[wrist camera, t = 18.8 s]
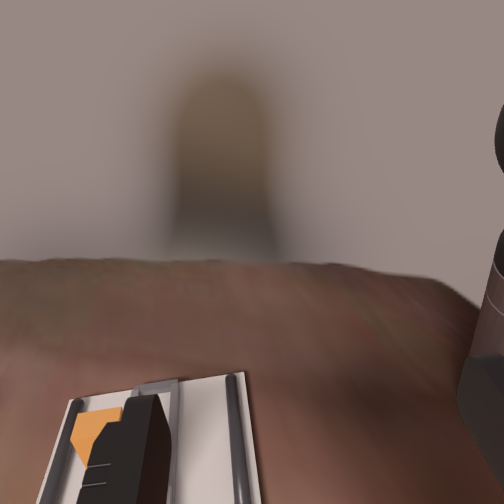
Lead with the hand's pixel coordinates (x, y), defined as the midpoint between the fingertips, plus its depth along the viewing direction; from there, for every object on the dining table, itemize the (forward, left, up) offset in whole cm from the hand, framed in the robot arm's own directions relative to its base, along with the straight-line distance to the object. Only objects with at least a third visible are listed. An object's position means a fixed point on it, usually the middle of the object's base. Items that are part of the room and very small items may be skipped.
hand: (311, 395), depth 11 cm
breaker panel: (+5, -20, -28) cm, 35 cm away
